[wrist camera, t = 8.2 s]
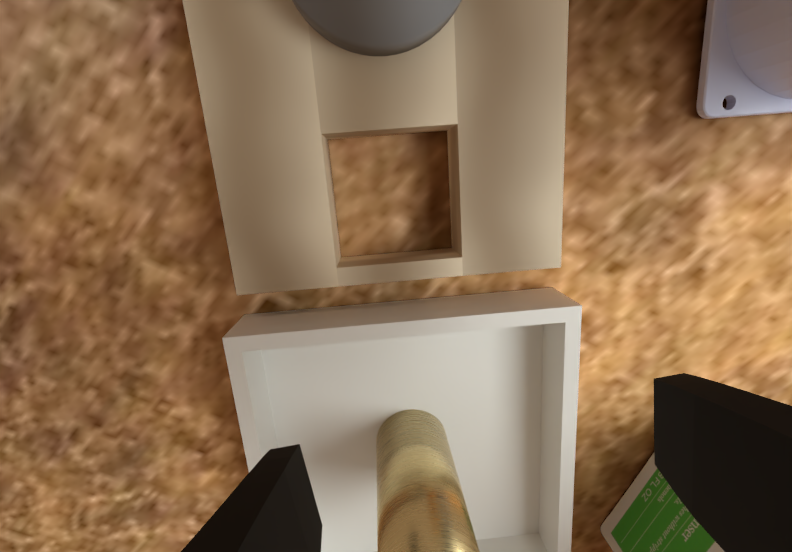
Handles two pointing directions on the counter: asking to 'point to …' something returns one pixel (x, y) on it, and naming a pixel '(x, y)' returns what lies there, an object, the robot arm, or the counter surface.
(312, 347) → the tray
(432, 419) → the lock pin
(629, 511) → the skincare box
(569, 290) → the counter surface
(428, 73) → the tensioner bracket
